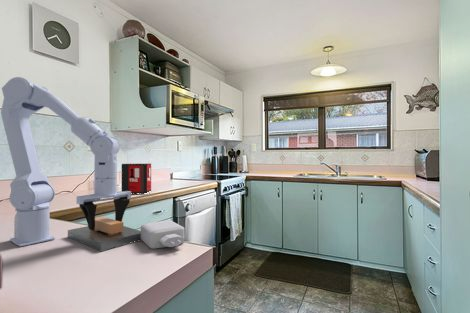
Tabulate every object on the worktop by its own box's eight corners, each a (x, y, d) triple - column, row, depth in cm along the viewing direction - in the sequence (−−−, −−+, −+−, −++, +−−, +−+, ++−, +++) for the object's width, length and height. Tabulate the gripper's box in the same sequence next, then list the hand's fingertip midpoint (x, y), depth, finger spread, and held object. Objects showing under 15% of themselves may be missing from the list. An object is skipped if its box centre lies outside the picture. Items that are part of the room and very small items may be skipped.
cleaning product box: (151, 192, 177) (151, 163, 177) (146, 194, 168) (146, 163, 168) (127, 192, 177) (127, 163, 177) (121, 194, 168) (121, 163, 168)
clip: (90, 235, 75) (90, 218, 75) (102, 233, 78) (102, 216, 78) (110, 243, 68) (110, 224, 68) (123, 240, 71) (123, 222, 71)
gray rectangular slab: (67, 237, 74) (67, 230, 74) (108, 228, 84) (108, 221, 84) (101, 251, 62) (101, 243, 62) (144, 239, 72) (144, 232, 72)
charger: (158, 258, 59) (140, 241, 71) (195, 249, 64) (172, 235, 76) (158, 237, 59) (140, 224, 71) (194, 230, 64) (172, 219, 76)
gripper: (84, 180, 65) (84, 234, 65) (136, 177, 77) (136, 222, 77) (73, 179, 69) (73, 229, 69) (123, 176, 81) (123, 219, 81)
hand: (105, 226), depth 73 cm, fingers open, 7 cm apart
